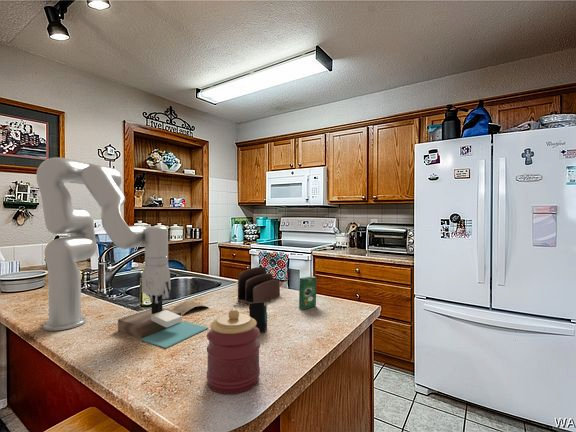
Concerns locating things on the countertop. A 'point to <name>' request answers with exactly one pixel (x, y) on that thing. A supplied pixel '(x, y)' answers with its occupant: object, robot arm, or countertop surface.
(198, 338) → the countertop surface
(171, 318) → the tile
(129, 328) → the brown flat block
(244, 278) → the letter holder
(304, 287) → the coffee box
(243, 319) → the canister
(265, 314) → the speaker
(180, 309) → the clay tablet
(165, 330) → the mat
